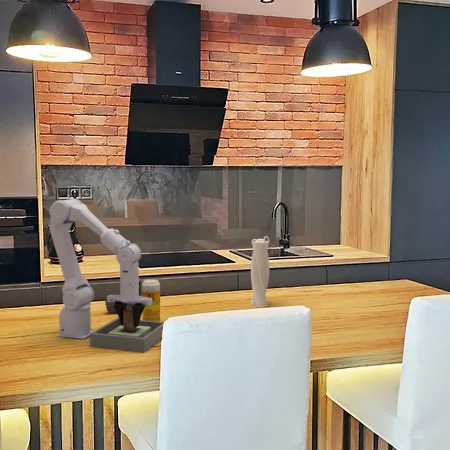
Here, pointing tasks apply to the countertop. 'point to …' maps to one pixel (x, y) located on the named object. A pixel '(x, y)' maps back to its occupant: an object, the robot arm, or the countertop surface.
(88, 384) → the countertop surface
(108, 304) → the perforated stone tool
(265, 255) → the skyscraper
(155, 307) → the beer can
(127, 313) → the walnut peg
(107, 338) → the graphite box
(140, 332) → the plate
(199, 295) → the countertop surface
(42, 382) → the countertop surface
